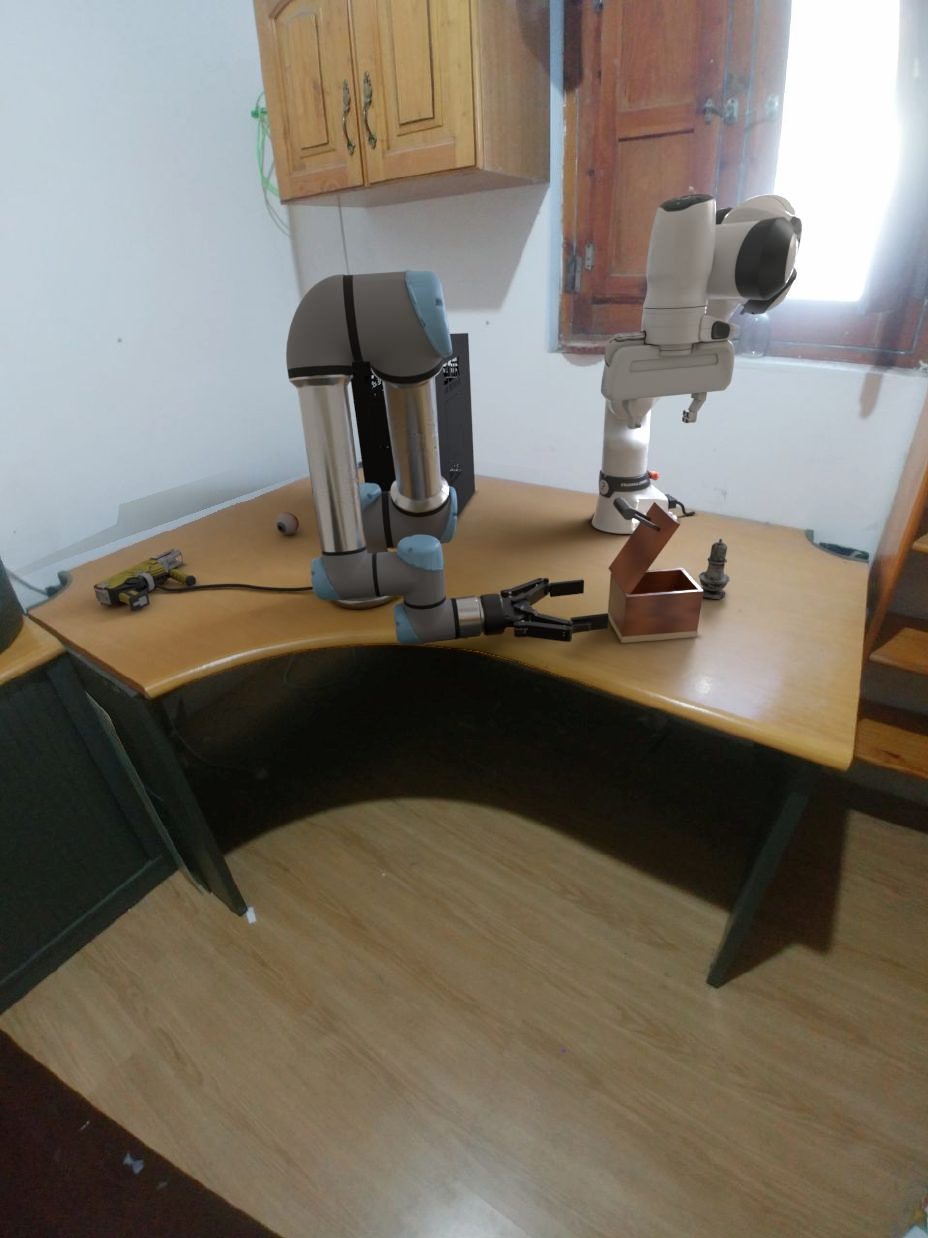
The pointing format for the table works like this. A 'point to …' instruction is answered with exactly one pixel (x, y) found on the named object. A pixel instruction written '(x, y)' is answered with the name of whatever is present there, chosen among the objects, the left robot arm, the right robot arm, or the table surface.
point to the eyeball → (287, 523)
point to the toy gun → (141, 581)
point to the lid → (641, 542)
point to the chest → (656, 607)
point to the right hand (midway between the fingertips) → (661, 425)
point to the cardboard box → (450, 418)
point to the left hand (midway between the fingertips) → (595, 602)
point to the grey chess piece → (715, 572)
